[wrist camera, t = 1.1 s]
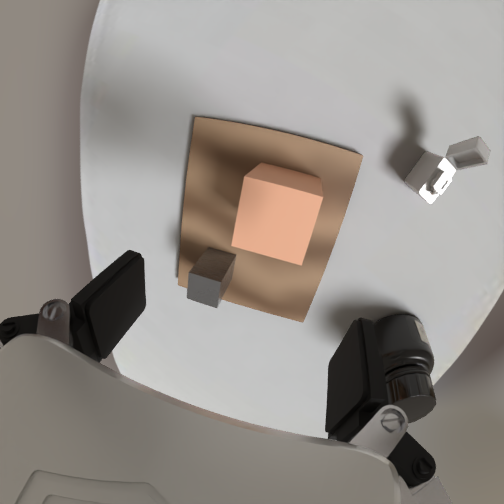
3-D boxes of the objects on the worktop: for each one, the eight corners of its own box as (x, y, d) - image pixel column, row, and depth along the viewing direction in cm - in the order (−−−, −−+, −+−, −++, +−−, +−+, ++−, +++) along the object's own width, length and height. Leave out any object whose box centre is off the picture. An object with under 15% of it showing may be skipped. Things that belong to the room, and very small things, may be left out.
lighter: (414, 192, 23) (448, 220, 16) (403, 181, 23) (435, 206, 16) (451, 141, 19) (495, 152, 12) (440, 129, 19) (483, 136, 12)
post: (208, 246, 29) (188, 272, 25) (236, 254, 29) (220, 282, 24) (205, 270, 31) (186, 298, 26) (231, 278, 31) (217, 308, 26)
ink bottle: (410, 359, 33) (424, 427, 22) (355, 360, 34) (358, 433, 24) (431, 308, 28) (460, 381, 18) (369, 308, 30) (382, 390, 20)
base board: (199, 116, 24) (195, 116, 23) (360, 154, 23) (363, 155, 22) (181, 280, 34) (178, 285, 33) (303, 316, 32) (302, 322, 31)
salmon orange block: (261, 162, 24) (244, 176, 18) (320, 178, 24) (323, 197, 18) (249, 217, 27) (231, 245, 21) (304, 232, 26) (301, 265, 21)
